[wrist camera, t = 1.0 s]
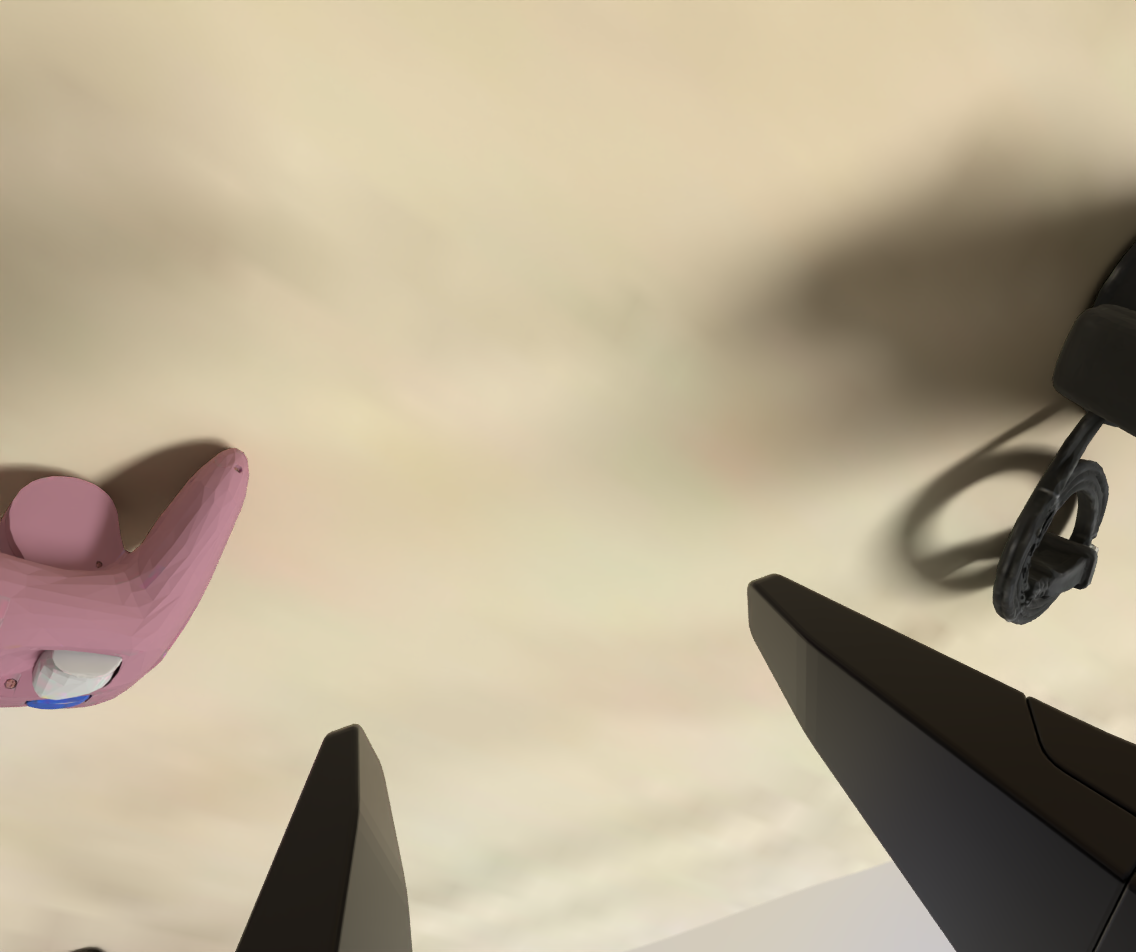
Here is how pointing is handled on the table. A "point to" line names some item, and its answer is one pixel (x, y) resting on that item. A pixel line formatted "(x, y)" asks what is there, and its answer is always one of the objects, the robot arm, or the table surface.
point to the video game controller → (103, 583)
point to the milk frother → (1075, 455)
